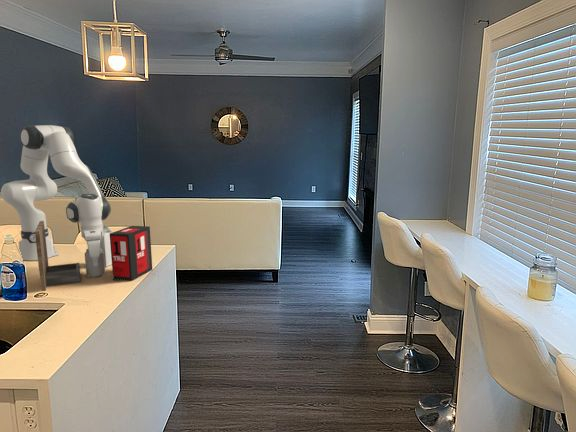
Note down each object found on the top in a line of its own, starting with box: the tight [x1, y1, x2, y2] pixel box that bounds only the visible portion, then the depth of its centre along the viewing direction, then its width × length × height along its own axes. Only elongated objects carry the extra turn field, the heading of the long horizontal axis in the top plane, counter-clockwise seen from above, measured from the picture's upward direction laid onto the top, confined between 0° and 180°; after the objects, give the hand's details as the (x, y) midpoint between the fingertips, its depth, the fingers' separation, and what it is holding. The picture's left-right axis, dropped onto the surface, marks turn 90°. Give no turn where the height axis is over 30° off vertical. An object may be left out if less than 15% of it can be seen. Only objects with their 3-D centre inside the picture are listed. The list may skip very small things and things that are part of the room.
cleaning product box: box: [110, 225, 153, 282], centre depth 199 cm, size 16×9×20 cm, turn 166°
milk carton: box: [100, 224, 114, 268], centre depth 215 cm, size 7×7×19 cm
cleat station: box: [35, 221, 81, 292], centre depth 192 cm, size 24×14×24 cm, turn 24°
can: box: [84, 248, 106, 278], centre depth 199 cm, size 8×8×12 cm
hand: (95, 263), depth 199 cm, fingers open, 8 cm apart
